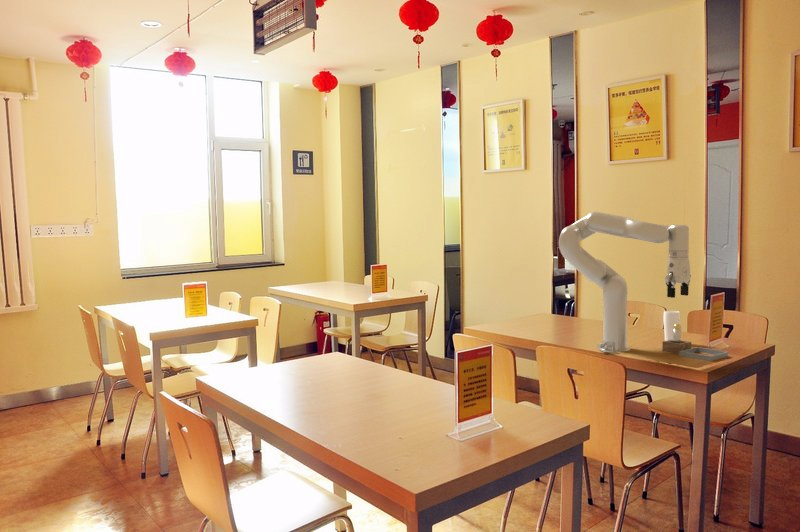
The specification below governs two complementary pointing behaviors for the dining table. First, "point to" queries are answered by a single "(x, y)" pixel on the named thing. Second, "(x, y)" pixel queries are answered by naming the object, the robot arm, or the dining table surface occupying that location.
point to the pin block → (675, 346)
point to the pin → (677, 333)
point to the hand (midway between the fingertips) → (677, 296)
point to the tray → (691, 351)
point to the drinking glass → (670, 323)
